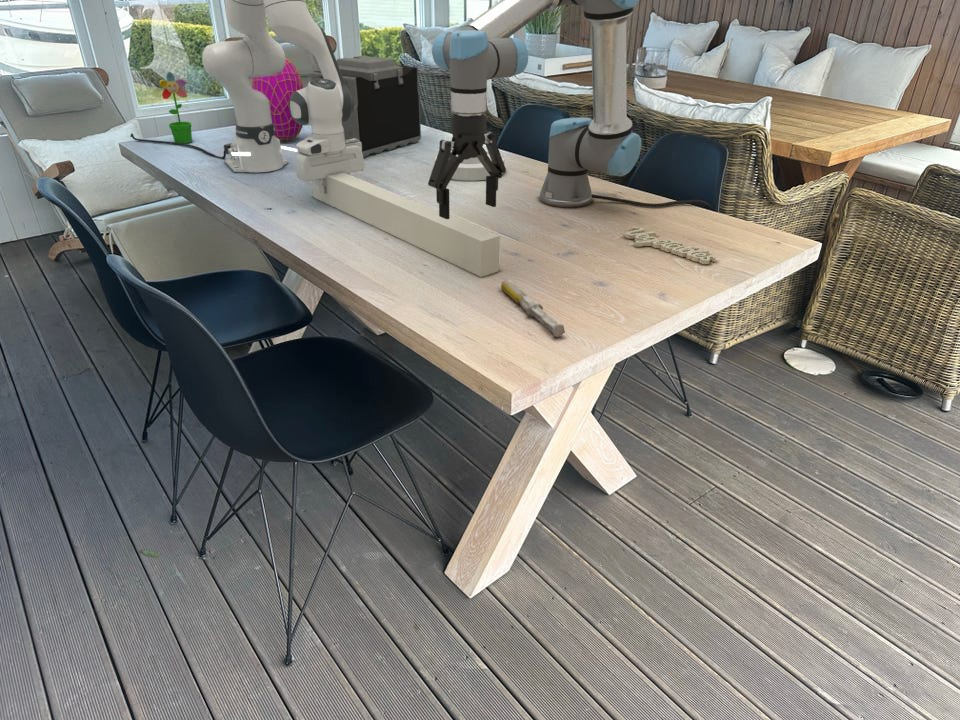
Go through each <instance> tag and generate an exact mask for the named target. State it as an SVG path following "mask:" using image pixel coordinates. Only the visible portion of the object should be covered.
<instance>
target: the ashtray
mask: <svg viewBox="0 0 960 720" xmlns="http://www.w3.org/2000/svg"><path fill="white" fill-rule="evenodd" d="M451 152H452V151H451ZM486 152H487V155H488V157H489V158H490V155H489V153H488V151H486ZM456 156H458V155H456ZM501 157H502V160H503V163H504V164H505V158H504V156H503V155H501ZM436 158H437V155H436V156H435V157H434V162H435V161H436ZM490 160H491V158H490ZM491 161H492V160H491ZM503 174H504V173H502V175H503ZM486 176H490V175H489V173H488V172H487V170H486V169H485V168H484V166H483V165H482V164H481V162H480V161H479V159H478V158H477V157H476V158H470V159H467V160H465V159H464V160H463V162H462V163H460V164H459V166H458V168H457V170H456V171H455V173H454V175H453V177H452V178H451V180H454V181H455V180H456V181H465V182H467V181H469V182H471V181H474V182H475V181H486Z"/></svg>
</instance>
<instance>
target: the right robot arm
mask: <svg viewBox="0 0 960 720" xmlns="http://www.w3.org/2000/svg"><path fill="white" fill-rule="evenodd" d="M639 2H640V0H499V1H498V2H497V3H495V4H494V5H492V6H491V7H490V8H488V9H487V10H486V11H484V12H483V13H481V14H480V15H479V16H477V17H476V18H475V19H473V20H472V21H470V22H469V23H467V24H466V25H465V26H463V27H462V28H460V29H459V30H456V31H453V32H450V31H447V32H442V33H439V34H438V35H437V36H436V37H435V38H434V40H433V42H432V47H431V55H432V59H433V61H434V63H435V64H436V66H437V67H439V68H440V69H444V70H448V71H449V80H450V81H449V82H450V84H449V85H450V87H449V89H450V91H449V92H450V93H449V97H450V99H449V100H450V111H451V112H452V113H451V114H450V132H451V135H452V136H451V139H450V140H446V139H440V140H439V146H438V147H439V148H438V153H437V155H436V156H437V158H436V161H435V160H434V164H433V168H432V170H431V172H430V176H429V180H428V182H427V185H428V186H429V187H431V188H433V189H435V191H436V192H435V193H436V196H435V197H436V203H437V204H438V211H439V216H440V217H442V218H444V219H450V216H451V215H450V188H448V186H449V184H450V182H451V180H452V179H451V178H452V177H453V175H454V173H455V171H456V170H457V168H458V166H459V164H460V163H462V162H463V160H464V159H465V160H467V159H470V158H476V157H477V158H478V159H479V161H480V162H481V164H482V165H483V166H484V168H485V169H486V170H487V172H488V173H489V175H490V176H486V180H485V205H486V206H489V207H492V208H495V207H497V191H499V179H501V178H503V174H505V173H506V172H507V168H506V166H505V162H504V163H503V160H502V157H503V156H502V155H501V152H500V149H499V147H498V144H497V134H496V133H494V132H491V131H488V130H487V115H486V113H485V112H487V109H488V107H487V104H488V103H487V100H488V98H487V97H488V95H487V94H488V93H487V90H488V81H489V80H494V79H502V78H512V77H514V76H518V75H520V74H522V73H524V71H525V70H526V68H527V66H528V64H529V51H528V48H527V45H526V44H525V42H524V41H523V40H522V39H520V38H518V37H512V36H513V35H514V34H516V33H517V32H518V31H520V30H521V29H523V27H525V26H527V25H528V24H529V23H531V22H532V21H533V20H534V19H536V18H537V17H538V16H540V15H541V14H543V13H545V12H547V13H549V12H553V11H554V10H555V9H557V8H558V7H562V6H568V5H576V6H583V18H584V20H586V21H587V22H588V23H589V24H590V47H591V48H590V49H591V50H590V51H591V53H590V54H591V79H592V80H591V83H592V109H593V119H592V118H590V117H569V118H568V117H567V118H562V119H557V120H554V121H553V122H552V123H551V125H550V129H549V130H550V131H549V135H548V139H549V141H548V156H547V158H548V159H547V173H546V176H545V178H544V181H543V184H542V187H541V189H540V192H539V200H540V202H542V203H543V204H546V205H549V206H553V207H558V208H559V207H560V208H580V207H584V206H588V205H589V204H591V203H592V199H598V200H604V201H611V202H617V203H624V204H629V205H633V206H639V207H649V208H662V207H663V208H664V207H669V206H674V205H691V204H700V205H703V206H705V207H706V208H707V209H710V210H711V209H713V207H712V205H711V204H710V203H708V202H707V201H705V200H702V199H689V200H688V199H687V200H674V201H667V202H660V203H652V202H650V203H649V202H642V201H641V202H640V201H635V200H631V199H625V198H618V197H612V196H607V195H599V194H593V193H592V188H591V184H590V179H589V171H592V172H595V173H601V174H605V175H607V176H616V177H624V176H626V175H627V174H629V173H630V172H631V171H632V170H633V169H634V167H635V166H636V165H637V162H638V160H639V157H640V155H641V150H642V144H643V143H642V137H640V135H639V134H638V133H636V132H633V121H632V120H631V119H630V118H629V117H628V116H627V110H628V109H627V102H628V101H627V19H629V18H630V16H631V15H632V14H633V12H634V7H635V6H637V4H638V3H639ZM484 145H485V148H486V150H485V148H484ZM451 151H452V152H451ZM487 152H488V153H489V155H490V158H491V160H492V161H491V160H490V158H489V157H488V155H487ZM456 155H458V156H456ZM501 156H502V157H501ZM502 173H503V174H502Z"/></svg>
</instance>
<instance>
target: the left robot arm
mask: <svg viewBox="0 0 960 720" xmlns="http://www.w3.org/2000/svg"><path fill="white" fill-rule="evenodd" d="M225 12H226V15H225V16H226V20H227V23H228V24H229V26H230V27H231V28H232V29H234V30H235V31H237V32H238V33H240V34H243V39H240V40H223V41H218V42H215V43H212V44H211V43H210V44H209V45H206V46H205V48H204V49H203V51H202V57H201V59H202V64H203V67H204V70H205V71H206V73H207V74H208V75H209V76H210V77H211V78H212V79H213V80H215V81H217V82H218V83H219V84H220V85H221V86H222V87H223V88H224V89H225V90H226V91H227V93H228V95H229V98H230V100H231V102H232V106H233V111H234V116H235V120H236V124H235V136H236V137H235V138H234V139H233V141H232V142H230V143H226V144H223V148H224V150H223V156H218V155H215V154H214V153H211V152H209V151H207V150H205V149H204V148H201V147H199V146H196V145H193V144H189V143H176V142H175V141H166V140H155V139H143V138H137V137H135V135H134V133H130V138H132V139H133V140H134V141H137V142H147V143H155V144H157V143H158V144H167V145H178V146H184V147H189V148H193V149H197V150H199V151H202V152H204V153H205V154H207V155H208V156H211V157H214V158H215V159H221V160H224V159H225V160H224V163H225V164H226V165H227V166H228V168H230V169H231V171H233V172H234V173H257V174H258V173H268V172H273V171H277V170H278V171H279V170H280V169H282V168H284V165H288V160H287V159H285V158H284V156H283V150H287V151H291V152H296V153H297V152H298V153H297V155H296V156H295V171H296V177H297V179H299V180H300V181H302V182H304V183H307V182H312V181H313V180H315V183H316V184H317V186H318V187H319V191H320V193H321V194H326V193H327V188H326V187H324V186H323V185H322V184H321V183H322V182H323V181H322V179H323V178H327V176H328V175H333V174H338V173H343V172H344V173H346V174H349V175H351V174H353V173H359V172H363V171H364V170H365V166H366V165H365V159H364V158H365V157H363V154H362V143H361V142H360V140H358V139H357V138H352V139H346V140H345V137H344V128H343V126H342V123H344V122H346V121H347V120H348V119H349V118H350V117H351V115H352V113H353V110H354V101H353V98H352V95H351V93H350V91H349V90H348V88H347V86H346V84H345V82H344V79H343V77H342V74H341V72H340V69H339V66H338V64H337V58H336V56H335V53H334V50H333V49H332V45H331V43H330V41H329V38H328V36H327V34H326V32H325V30H324V29H323V27H322V26H321V25H319V24H317V22H315V20H314V18H313V17H312V15H311V13H310V11H309V9H308V5H307V2H306V0H225ZM267 22H268V25H269V28H270V29H271V31H272V33H273V34H275V36H277V37H278V38H279V39H280V40H282V41H283V42H285V43H288V44H290V45H294V46H297V47H299V48H302V49H304V50H306V51H307V52H309V53H310V54H311V55H312V56H313V57H314V58H315V60H316V62H317V65H318V68H319V71H321V73H322V75H323V78H324V79H322V78H319V79H313V80H312V79H311V80H309V81H308V83H307V85H306V86H305V87H304V88H303V89H300V90H298V91H294V92H293V94H292V95H291V97H290V100H289V110H290V115H291V117H292V118H293V119H294V120H295V121H296V122H297V123H298V124H300V125H303V126H306V127H308V126H311V135H310V136H308V137H306V138H304V139H303V140H300V141H299V142H296V145H295V147H296V148H293V147H288V146H285V145H281V141H280V140H279V139H278V138H276V137H275V127H274V124H273V122H272V118H271V111H270V104H269V100H268V98H267V97H266V96H265V95H264V94H263V93H261V92H259V91H257V90H255V89H252V84H251V83H250V80H251V79H252V78H258V77H268V76H272V75H275V74H277V73H280V72H282V70H283V69H284V66H285V58H286V53H285V51H284V49H283V47H282V45H280V43H278V41H276V40H275V39H274V38H273V37H272V35H271V34H270V32H269V30H268V26H267ZM227 155H229V157H228V158H226V156H227Z"/></svg>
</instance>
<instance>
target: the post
mask: <svg viewBox="0 0 960 720" xmlns="http://www.w3.org/2000/svg"><path fill="white" fill-rule="evenodd" d="M322 181H323V182H322V183H321V184H322V185H323V186H324V187H326V188H327V193H326V194H321V193H320V191H319V187H318V186H317V184H316V183H315V180H313V181H311V187H312V196H313V198H314V199H316V200H318V201H319V202H322V203H324V204H326V205H329V206H330V207H333V208H334V209H337V210H339V211H341V212H344V213H346V214H347V215H350V216H351V217H354V218H356V219H358V220H360V221H362V222H365V223H367V224H369V225H370V226H373V227H375V228H377V229H379V230H381V231H383V232H385V233H387V234H390V235H391V236H394V237H396V238H398V239H399V240H402V241H404V242H405V243H408V244H410V245H412V246H415V247H417V248H420V249H421V250H423V251H426V252H427V253H429V254H432V255H434V256H435V257H438V258H440V259H441V260H444V261H447V262H448V263H451V264H452V265H455V266H456V267H459V268H461V269H462V270H465V271H467V272H469V273H472V274H473V275H475V276H478V277H480V278H483V277H486V276H489V275H492V274H494V273H498V272H499V271H500V248H501V247H500V245H501V240H500V239H501V235H499V234H496V233H494V232H491V231H489V230H486V229H484V228H481V227H480V226H476V225H474V224H472V223H469V222H466V221H464V220H461V219H459V218H457V217H455V216H452V215H450V219H444V218H442V217H440V216H439V210H437V209H434V208H433V207H430V206H427V205H425V204H422V203H419V202H417V201H415V200H412V199H411V198H408V197H405V196H402V195H400V194H398V193H395V192H393V191H390V190H388V189H385V188H383V187H380V186H378V185H376V184H373V183H371V182H368V181H365V180H364V179H361V178H358V177H355V176H353V175H351V174H350V175H349V174H346V173H344V172H343V173H338V174H333V175H328V176H327V178H323V179H322Z"/></svg>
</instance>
